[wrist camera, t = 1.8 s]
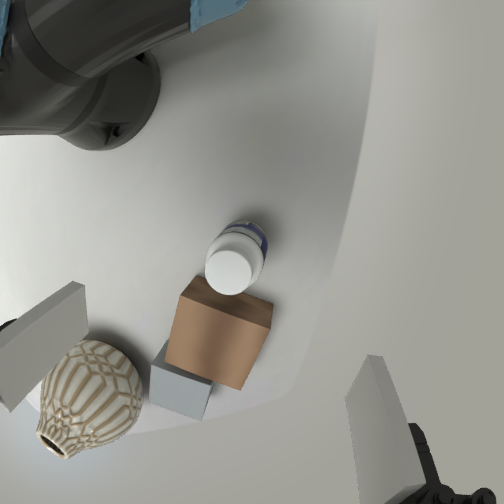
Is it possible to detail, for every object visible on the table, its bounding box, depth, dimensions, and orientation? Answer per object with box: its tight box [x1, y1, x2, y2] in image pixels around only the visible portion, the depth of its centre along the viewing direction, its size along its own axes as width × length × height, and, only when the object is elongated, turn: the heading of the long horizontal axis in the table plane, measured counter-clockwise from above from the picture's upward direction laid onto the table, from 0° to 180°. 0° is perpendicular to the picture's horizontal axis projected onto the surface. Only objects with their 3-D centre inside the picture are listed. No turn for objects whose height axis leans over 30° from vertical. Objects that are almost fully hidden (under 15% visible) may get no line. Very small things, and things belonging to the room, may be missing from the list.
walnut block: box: [164, 275, 273, 391], centre depth 34 cm, size 10×10×6 cm
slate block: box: [149, 340, 214, 421], centre depth 37 cm, size 8×8×6 cm
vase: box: [36, 340, 143, 459], centre depth 32 cm, size 16×16×20 cm
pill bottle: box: [205, 220, 267, 295], centre depth 28 cm, size 5×5×10 cm
